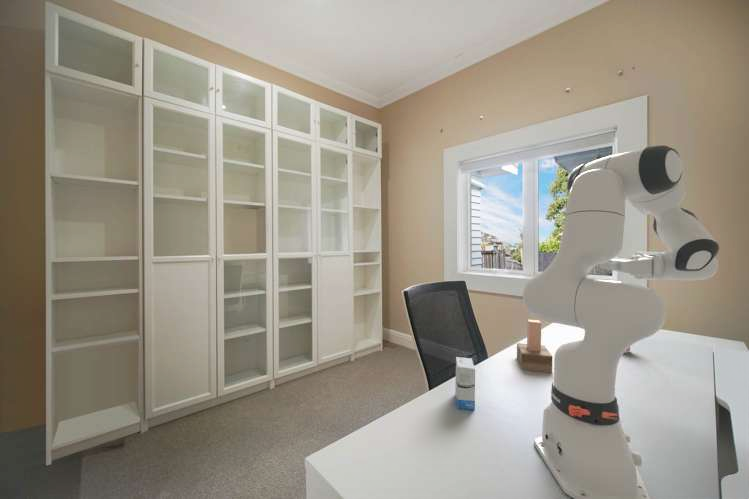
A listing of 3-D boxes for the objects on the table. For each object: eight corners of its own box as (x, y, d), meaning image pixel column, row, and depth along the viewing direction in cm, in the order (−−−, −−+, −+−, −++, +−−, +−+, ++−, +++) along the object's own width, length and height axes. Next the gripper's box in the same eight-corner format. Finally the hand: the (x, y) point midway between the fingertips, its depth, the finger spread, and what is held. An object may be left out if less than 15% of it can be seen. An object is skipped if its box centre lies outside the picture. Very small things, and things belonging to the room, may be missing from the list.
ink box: (475, 410, 84) (475, 368, 84) (456, 408, 85) (457, 367, 85) (471, 395, 92) (472, 357, 92) (455, 394, 93) (455, 356, 93)
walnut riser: (552, 372, 109) (552, 356, 109) (521, 369, 112) (522, 353, 112) (544, 360, 121) (544, 345, 121) (516, 357, 124) (517, 343, 124)
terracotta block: (540, 351, 114) (541, 322, 114) (528, 350, 115) (529, 321, 115) (538, 348, 118) (538, 320, 117) (527, 347, 119) (527, 319, 119)
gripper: (628, 254, 106) (582, 253, 110) (664, 256, 86) (607, 256, 90) (628, 272, 106) (582, 271, 110) (664, 279, 86) (606, 277, 90)
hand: (593, 264), depth 100 cm, fingers open, 8 cm apart
